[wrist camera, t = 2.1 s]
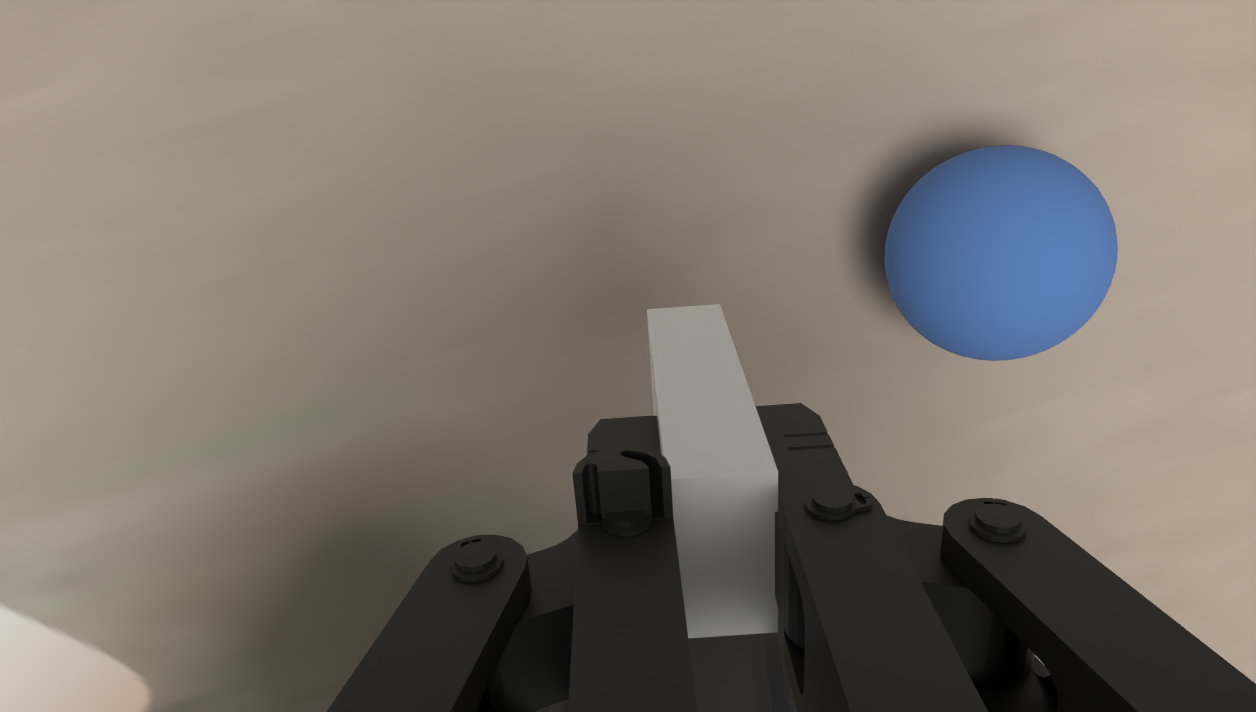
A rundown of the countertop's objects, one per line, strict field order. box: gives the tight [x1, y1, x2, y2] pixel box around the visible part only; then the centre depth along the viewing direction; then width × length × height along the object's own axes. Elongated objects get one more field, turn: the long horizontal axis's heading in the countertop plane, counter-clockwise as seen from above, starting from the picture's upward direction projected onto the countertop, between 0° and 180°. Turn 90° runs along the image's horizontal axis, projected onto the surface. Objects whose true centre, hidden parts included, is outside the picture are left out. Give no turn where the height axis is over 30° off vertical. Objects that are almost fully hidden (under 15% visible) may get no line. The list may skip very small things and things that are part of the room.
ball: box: [884, 145, 1118, 361], centre depth 24 cm, size 6×6×6 cm
